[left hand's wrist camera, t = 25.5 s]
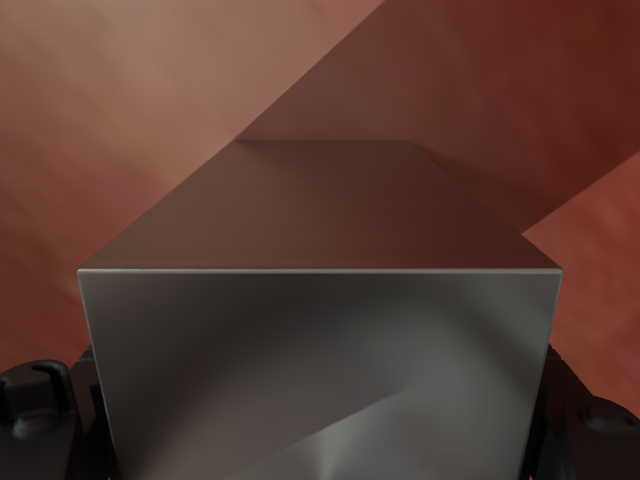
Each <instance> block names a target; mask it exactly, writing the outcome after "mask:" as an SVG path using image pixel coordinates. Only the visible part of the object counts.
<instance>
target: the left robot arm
mask: <svg viewBox="0 0 640 480" xmlns="http://www.w3.org/2000/svg"><path fill="white" fill-rule="evenodd" d="M530 475H531V477H532V479H533V480H640V420H639V418H637V417H636V416H635V415H634V414H632V413H631V412H630V411H629V410H627V409H626V408H624V407H622V406H620V405H618V404H616V403H614V402H612V401H610V400H607V399H603V398H600V397H597V396H593V395H592V394H591V393H590V391H589V390H588V389H587V388H586V387H585V385H584V384H583V383H582V382H581V381H580V379H579V378H578V377H577V376H576V375H575V373H574V372H573V371H572V370H571V369H570V367H569V366H568V365H567V364H566V363H565V361H564V360H561V357H560V355H559V354H558V353H557V352H556V351H555V349H552V346H551V345H550V343H548V348H547V353H546V357H545V362H544V367H543V371H542V376H541V381H540V385H539V390H538V394H537V399H536V404H535V408H534V413H533V418H532V422H531V427H530V431H529V436H528V441H527V445H526V450H525V455H524V459H523V464H522V469H521V473H520V478H519V480H529V478H530ZM109 476H110V480H121V479H120V474H119V469H118V465H117V460H116V456H115V451H114V446H113V442H112V437H111V432H110V428H109V423H108V419H107V414H106V409H105V405H104V400H103V395H102V391H101V386H100V381H99V377H98V372H97V368H96V363H95V358H94V354H93V349H92V344H91V345H90V346H89V347H88V351H85V352H84V353H83V355H82V356H81V357H80V358H79V362H76V363H75V364H74V365H73V367H72V368H71V369H70V370H69V368H68V366H66V365H65V364H64V363H63V362H61V361H55V360H50V359H49V360H37V361H32V362H28V363H24V364H21V365H18V366H15V367H13V368H11V369H9V370H7V371H4V372H2V373H1V374H0V480H108V478H109Z"/></svg>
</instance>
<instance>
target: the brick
mask: <svg viewBox="0 0 640 480" xmlns="http://www.w3.org/2000/svg"><path fill="white" fill-rule="evenodd" d="M563 274H564V272H563V268H561V267H560V266H559V265H558V264H556V263H555V262H554V261H553V260H552V259H550V258H549V257H548V256H547V255H546V254H544V253H543V252H542V251H541V250H539V249H538V248H537V247H536V246H535V245H533V244H532V243H531V242H530V241H528V240H527V239H526V238H525V237H524V236H522V235H521V234H520V233H519V232H518V231H516V230H515V229H514V228H513V227H511V226H510V225H509V224H508V223H507V222H505V221H504V220H503V219H502V218H501V217H499V216H498V215H497V214H496V213H494V212H493V211H492V210H491V209H490V208H488V207H487V206H486V205H485V204H483V203H482V202H481V201H480V200H479V199H477V198H476V197H475V196H474V195H473V194H471V193H470V192H469V191H468V190H466V189H465V188H464V187H463V186H462V185H460V184H459V183H458V182H457V181H456V180H454V179H453V178H452V177H451V176H449V175H448V174H447V173H446V172H445V171H443V170H442V169H441V168H440V167H438V166H437V165H436V164H435V163H434V162H432V161H431V160H430V159H429V158H428V157H426V156H425V155H424V154H423V153H421V152H420V151H419V150H418V149H417V148H415V147H414V146H413V145H412V144H411V143H409V142H408V141H231V142H230V143H229V144H227V145H226V146H225V147H224V148H223V149H221V150H220V151H219V152H218V153H217V154H215V155H214V156H213V157H212V158H211V159H209V160H208V161H207V162H206V163H204V164H203V165H202V166H201V167H200V168H198V169H197V170H196V171H195V172H194V173H192V174H191V175H190V176H189V177H188V178H186V179H185V180H184V181H183V182H182V183H180V184H179V185H178V186H177V187H175V188H174V189H173V190H172V191H171V192H169V193H168V194H167V195H166V196H165V197H163V198H162V199H161V200H160V201H159V202H157V203H156V204H155V205H154V206H153V207H151V208H150V209H149V210H148V211H146V212H145V213H144V214H143V215H142V216H140V217H139V218H138V219H137V220H136V221H134V222H133V223H132V224H131V225H130V226H128V227H127V228H126V229H125V230H124V231H122V232H121V233H120V234H119V235H117V236H116V237H115V238H114V239H113V240H111V241H110V242H109V243H108V244H107V245H105V246H104V247H103V248H102V249H101V250H99V251H98V252H97V253H96V254H95V255H93V256H92V257H91V258H90V259H88V260H87V261H86V262H85V263H84V264H82V265H81V266H80V267H79V268H78V269H77V272H76V275H77V280H78V284H79V289H80V293H81V298H82V303H83V307H84V312H85V317H86V321H87V326H88V331H89V335H90V340H91V344H92V349H93V354H94V358H95V363H96V368H97V372H98V377H99V381H100V386H101V391H102V395H103V400H104V405H105V409H106V414H107V419H108V423H109V428H110V432H111V437H112V442H113V446H114V451H115V456H116V460H117V465H118V469H119V474H120V479H121V480H519V478H520V473H521V469H522V464H523V459H524V455H525V450H526V445H527V441H528V436H529V431H530V427H531V422H532V418H533V413H534V408H535V404H536V399H537V394H538V390H539V385H540V381H541V376H542V371H543V367H544V362H545V357H546V353H547V348H548V343H549V339H550V334H551V330H552V325H553V320H554V316H555V311H556V306H557V302H558V297H559V293H560V288H561V283H562V279H563Z"/></svg>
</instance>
